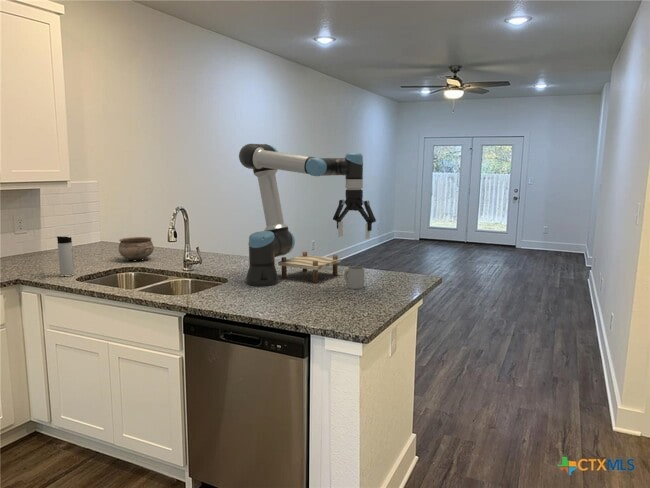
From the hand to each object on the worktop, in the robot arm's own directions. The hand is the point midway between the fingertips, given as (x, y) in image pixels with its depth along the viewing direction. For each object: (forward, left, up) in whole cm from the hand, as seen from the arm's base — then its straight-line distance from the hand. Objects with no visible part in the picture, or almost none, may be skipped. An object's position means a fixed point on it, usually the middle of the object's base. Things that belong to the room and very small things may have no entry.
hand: (353, 237), depth 221 cm
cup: (0, 0, -23) cm, 23 cm away
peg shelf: (+7, +28, -22) cm, 37 cm away
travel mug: (-54, +132, -23) cm, 144 cm away
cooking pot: (-9, +137, -23) cm, 139 cm away
